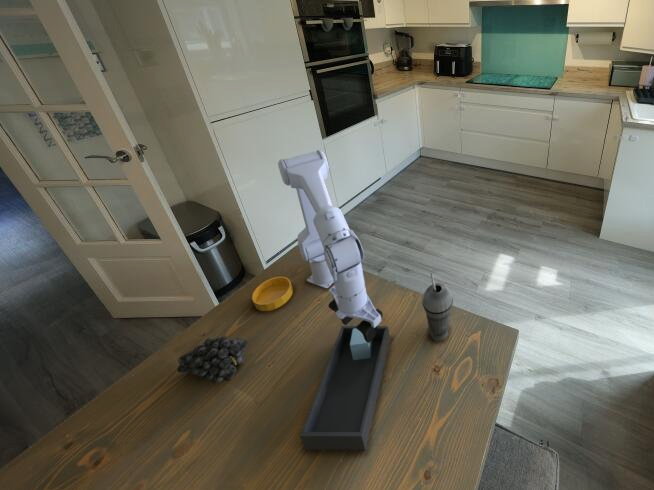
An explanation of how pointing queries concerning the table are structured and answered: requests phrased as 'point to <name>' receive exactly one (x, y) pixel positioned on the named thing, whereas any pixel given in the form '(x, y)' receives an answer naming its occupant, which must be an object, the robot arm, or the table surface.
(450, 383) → the table surface
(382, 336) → the bin
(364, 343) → the toy block
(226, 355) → the fruit
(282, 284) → the bowl
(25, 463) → the table surface
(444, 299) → the beverage cup
